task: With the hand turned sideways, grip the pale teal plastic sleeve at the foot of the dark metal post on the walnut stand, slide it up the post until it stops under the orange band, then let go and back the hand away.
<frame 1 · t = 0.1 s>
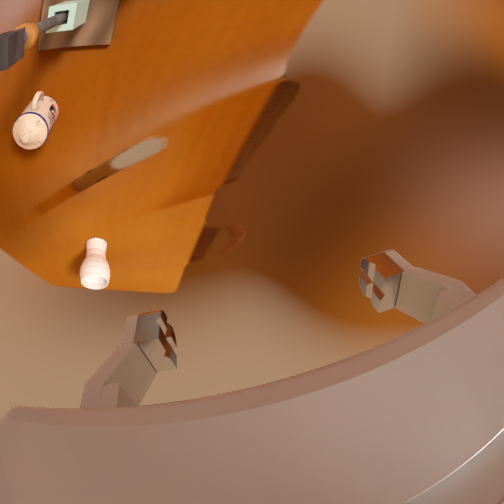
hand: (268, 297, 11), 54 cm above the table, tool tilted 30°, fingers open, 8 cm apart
marker sleeve: (68, 14, 23), point 7 cm above the table, slide at 0.0 cm
post stand: (79, 9, 27), on the table
cup: (96, 243, 85), on the table
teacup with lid: (43, 105, 41), on the table
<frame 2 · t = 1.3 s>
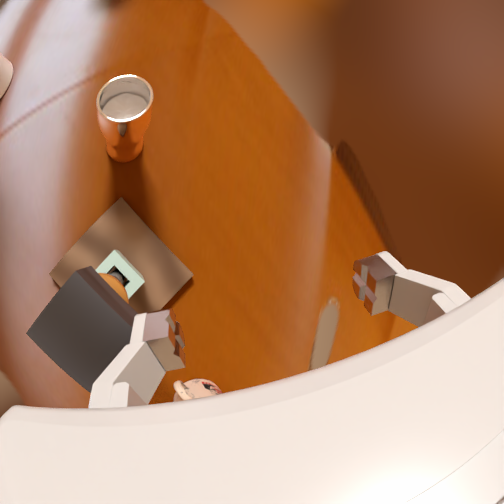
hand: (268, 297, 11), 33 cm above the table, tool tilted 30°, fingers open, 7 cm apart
marker sleeve: (116, 278, 32), point 7 cm above the table, slide at 0.0 cm
post stand: (119, 274, 38), on the table
beer glass: (124, 145, 38), on the table
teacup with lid: (192, 393, 42), on the table
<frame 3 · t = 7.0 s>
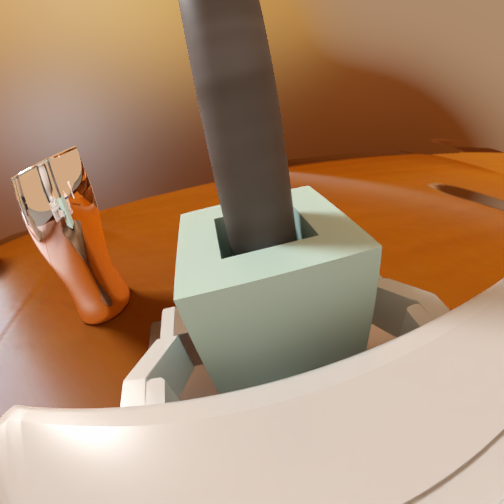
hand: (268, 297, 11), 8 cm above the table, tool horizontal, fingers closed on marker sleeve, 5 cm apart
marker sleeve: (276, 321, 10), point 7 cm above the table, slide at 0.0 cm, touching gripper
post stand: (288, 403, 14), on the table
beer glass: (105, 305, 25), on the table
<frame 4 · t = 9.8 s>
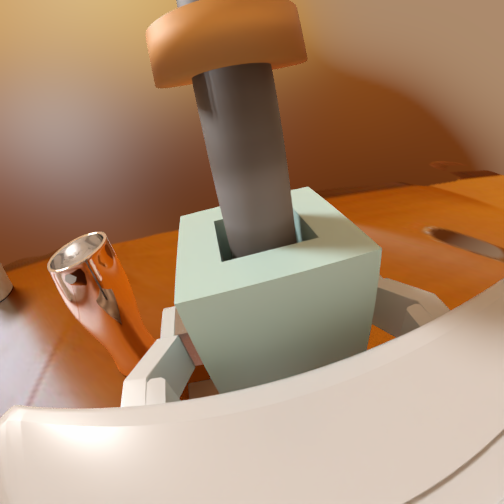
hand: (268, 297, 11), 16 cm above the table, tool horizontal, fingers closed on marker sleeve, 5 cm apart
marker sleeve: (276, 322, 10), point 15 cm above the table, slide at 8.5 cm, touching gripper
post stand: (295, 444, 18), on the table
beer glass: (139, 358, 29), on the table
travel mug: (3, 295, 48), on the table
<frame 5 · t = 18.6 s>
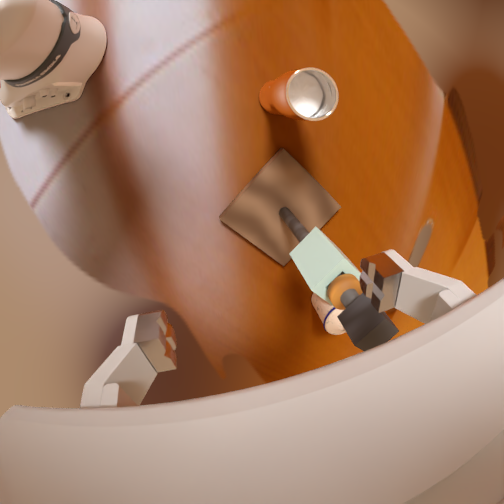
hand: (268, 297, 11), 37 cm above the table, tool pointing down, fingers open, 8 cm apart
marker sleeve: (326, 265, 33), point 19 cm above the table, slide at 12.4 cm
post stand: (281, 209, 50), on the table
beer glass: (276, 97, 40), on the table
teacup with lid: (324, 290, 62), on the table
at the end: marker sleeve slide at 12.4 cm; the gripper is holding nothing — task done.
